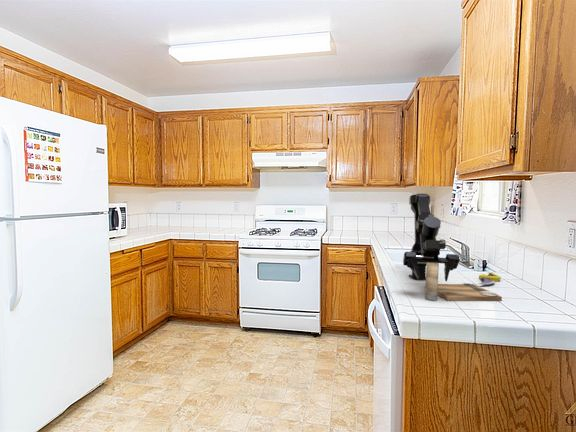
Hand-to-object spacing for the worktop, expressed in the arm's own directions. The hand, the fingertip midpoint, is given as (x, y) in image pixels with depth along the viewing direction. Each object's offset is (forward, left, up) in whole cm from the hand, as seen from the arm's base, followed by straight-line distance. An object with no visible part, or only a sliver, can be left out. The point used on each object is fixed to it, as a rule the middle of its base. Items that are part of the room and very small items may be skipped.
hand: (432, 279), depth 121 cm
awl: (-1, 0, -7) cm, 7 cm away
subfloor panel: (-7, +15, -7) cm, 19 cm away
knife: (-25, +38, -8) cm, 46 cm away
